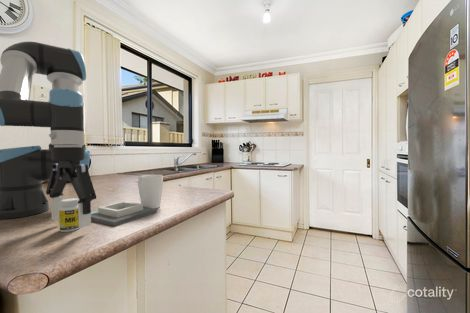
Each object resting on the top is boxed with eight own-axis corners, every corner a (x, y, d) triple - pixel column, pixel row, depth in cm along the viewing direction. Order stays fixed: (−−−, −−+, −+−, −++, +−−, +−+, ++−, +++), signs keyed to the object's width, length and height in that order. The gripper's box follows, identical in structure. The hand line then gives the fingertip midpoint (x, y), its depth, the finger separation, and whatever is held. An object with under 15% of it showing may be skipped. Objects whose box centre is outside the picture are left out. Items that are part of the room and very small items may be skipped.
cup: (155, 211, 82) (154, 177, 81) (133, 209, 84) (132, 177, 83) (167, 204, 91) (167, 174, 90) (147, 203, 92) (146, 174, 92)
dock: (82, 218, 73) (82, 208, 73) (126, 206, 88) (126, 198, 87) (114, 226, 66) (114, 215, 66) (156, 212, 80) (156, 203, 80)
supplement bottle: (64, 233, 60) (63, 202, 60) (56, 230, 63) (55, 200, 63) (84, 228, 64) (83, 199, 64) (76, 225, 67) (75, 197, 67)
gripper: (29, 147, 65) (32, 220, 66) (79, 145, 54) (82, 234, 55) (59, 147, 72) (61, 213, 73) (109, 146, 61) (111, 224, 61)
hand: (70, 222), depth 64 cm, fingers open, 13 cm apart
